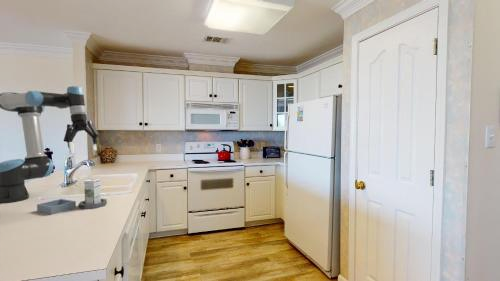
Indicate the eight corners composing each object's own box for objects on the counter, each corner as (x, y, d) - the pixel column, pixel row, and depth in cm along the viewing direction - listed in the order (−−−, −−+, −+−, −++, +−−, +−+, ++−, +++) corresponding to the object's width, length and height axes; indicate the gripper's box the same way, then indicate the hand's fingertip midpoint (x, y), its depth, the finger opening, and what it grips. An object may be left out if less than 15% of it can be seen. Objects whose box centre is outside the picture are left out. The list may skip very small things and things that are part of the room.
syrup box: (101, 203, 151) (100, 178, 151) (94, 207, 146) (93, 180, 145) (91, 203, 152) (91, 178, 151) (84, 206, 146) (83, 180, 145)
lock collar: (74, 207, 146) (73, 203, 145) (96, 201, 157) (95, 197, 157) (90, 210, 140) (89, 206, 140) (111, 203, 152) (111, 200, 152)
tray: (37, 211, 138) (36, 204, 138) (61, 205, 149) (61, 198, 149) (51, 214, 133) (51, 207, 133) (75, 207, 144) (75, 201, 144)
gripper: (52, 117, 149) (57, 155, 148) (94, 110, 146) (99, 148, 145) (63, 118, 156) (68, 154, 156) (103, 111, 153) (108, 148, 153)
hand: (83, 151), depth 151 cm, fingers open, 13 cm apart
